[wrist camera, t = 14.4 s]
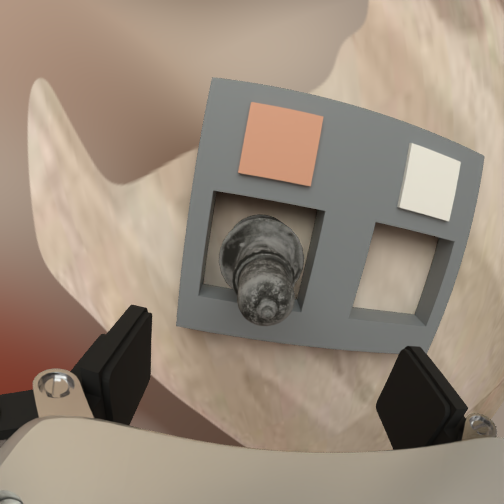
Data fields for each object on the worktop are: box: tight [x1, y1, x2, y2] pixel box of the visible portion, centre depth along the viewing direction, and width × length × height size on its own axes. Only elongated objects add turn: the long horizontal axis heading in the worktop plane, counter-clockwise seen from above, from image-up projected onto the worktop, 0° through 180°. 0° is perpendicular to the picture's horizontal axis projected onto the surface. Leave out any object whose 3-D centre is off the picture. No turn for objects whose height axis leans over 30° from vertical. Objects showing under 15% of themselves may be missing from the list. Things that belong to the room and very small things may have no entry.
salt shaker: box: [219, 215, 304, 326], centre depth 20 cm, size 6×6×12 cm
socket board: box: [176, 78, 484, 354], centre depth 23 cm, size 19×23×3 cm
